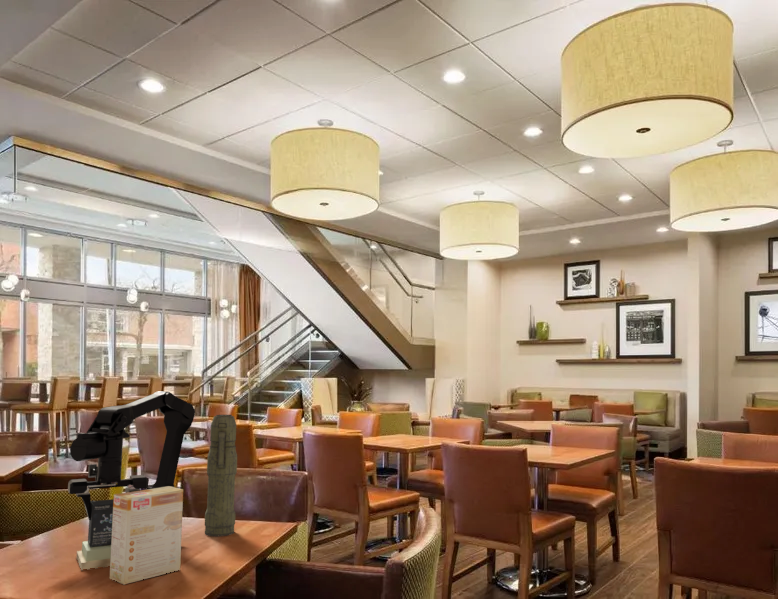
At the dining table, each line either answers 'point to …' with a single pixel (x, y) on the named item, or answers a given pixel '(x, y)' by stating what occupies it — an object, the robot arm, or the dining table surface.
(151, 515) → the coffeecake box
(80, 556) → the lower slab
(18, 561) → the dining table surface
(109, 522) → the box
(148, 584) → the dining table surface
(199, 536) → the dining table surface
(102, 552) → the upper slab
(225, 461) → the thermos
